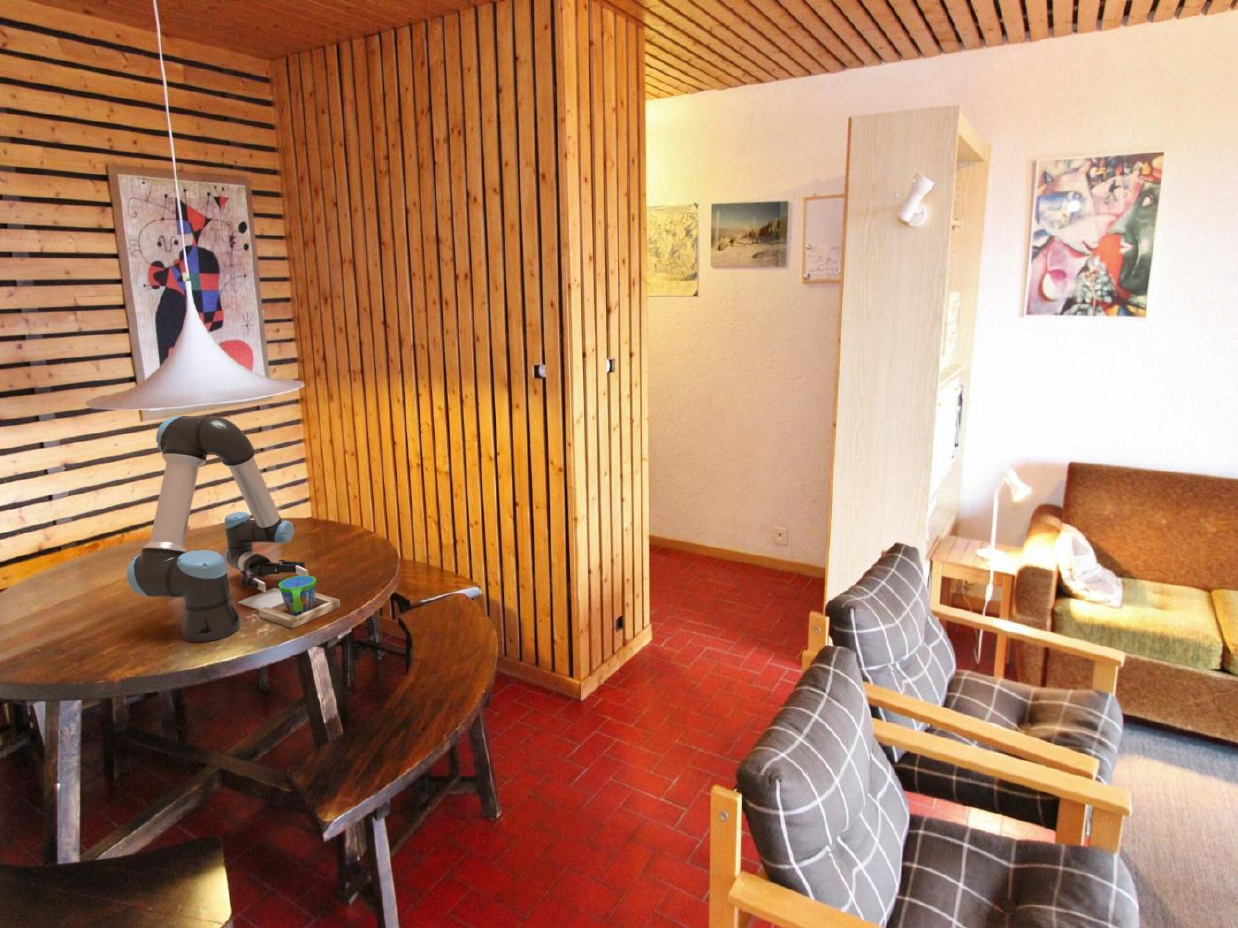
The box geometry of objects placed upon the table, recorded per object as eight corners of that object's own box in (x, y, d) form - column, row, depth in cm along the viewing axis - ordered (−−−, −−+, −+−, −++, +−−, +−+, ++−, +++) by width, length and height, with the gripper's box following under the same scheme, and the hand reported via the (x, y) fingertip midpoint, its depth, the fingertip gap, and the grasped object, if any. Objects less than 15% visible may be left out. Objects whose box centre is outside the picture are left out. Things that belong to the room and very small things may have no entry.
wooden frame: (292, 628, 220) (291, 620, 219) (259, 617, 227) (258, 609, 227) (340, 607, 234) (339, 599, 233) (307, 597, 242) (306, 589, 241)
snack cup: (287, 603, 237) (283, 573, 234) (322, 600, 239) (319, 570, 237) (277, 625, 222) (273, 593, 220) (315, 621, 224) (311, 589, 222)
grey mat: (263, 611, 231) (263, 610, 231) (237, 603, 238) (237, 601, 238) (300, 596, 242) (299, 595, 242) (274, 588, 249) (274, 587, 248)
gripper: (293, 564, 258) (324, 579, 245) (217, 587, 240) (247, 604, 226) (290, 544, 256) (322, 558, 243) (214, 565, 238) (244, 581, 224)
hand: (286, 580), depth 234 cm, fingers open, 13 cm apart
